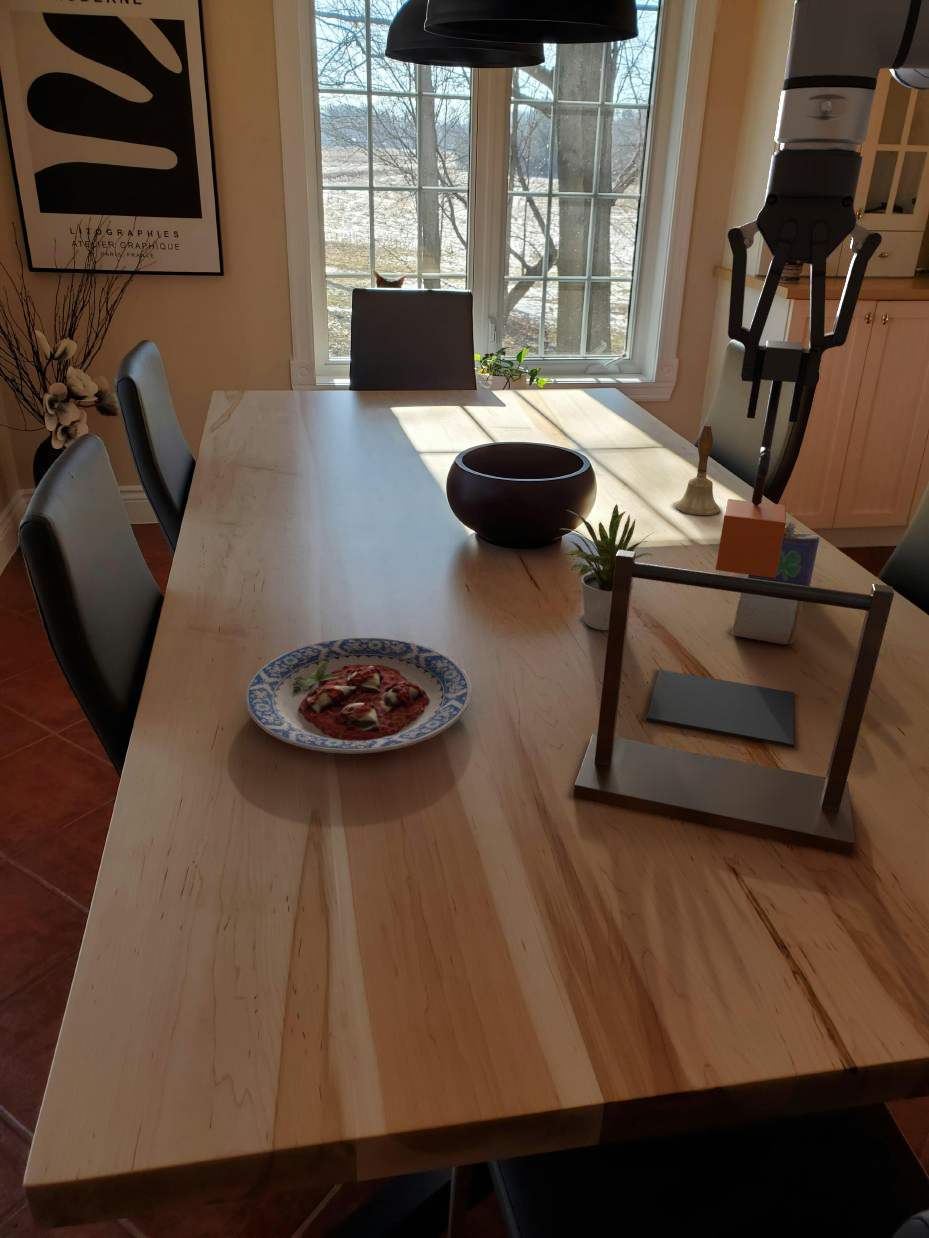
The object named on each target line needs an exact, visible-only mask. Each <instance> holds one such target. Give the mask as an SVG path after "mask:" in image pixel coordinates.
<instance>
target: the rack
mask: <svg viewBox="0 0 929 1238" xmlns="http://www.w3.org/2000/svg"><path fill="white" fill-rule="evenodd" d="M636 554H637V552H636V551H633V552H632V551H626V550H619V551H618V553H617V555H616V561H615V571H614V580H613V590H612V599H611V609H610V619H609V628H608V630H607V637H606V647H605V656H604V667H603V675H602V686H601V696H600V705H599V716H598V725H597V733H595V732H593V733H592V735H591V737H590V740H589V742H588V743H589V744H588V746H587V749H586V752H585V754H584V758H583V760H582V762H581V766H580V769H579V771H578V774H577V777H576V779H575V783H574V784H573V785H574V786H573V798H576V799H581V800H586V801H590V802H595V803H596V802H597V803H600V804H605V805H610V806H615V807H619V808H623V809H627V810H628V809H629V810H632V811H633V810H634V811H638V812H642V813H643V812H644V813H647V814H651V815H657V816H662V817H667V818H671V819H676V820H679V821H686V822H691V823H694V824H698V825H699V824H700V825H704V826H709V827H714V828H717V829H718V828H720V829H722V830H727V831H728V830H729V831H732V832H737V833H742V834H746V835H751V836H757V837H761V838H766V839H771V840H775V841H781V842H785V843H789V844H795V845H799V846H804V847H809V848H814V849H817V850H818V849H819V850H823V851H828V852H833V853H837V854H841V855H847V856H852V855H853V851H854V848H855V844H856V842H855V833H854V832H855V831H854V824H853V814H852V813H853V812H852V803H851V795H850V794H851V793H850V785H849V781H848V777H849V773H850V768H851V766H852V761H853V756H854V753H855V750H856V746H857V742H858V738H859V733H860V730H861V726H862V722H863V719H864V718H863V717H864V714H865V710H866V706H867V702H868V698H869V694H870V690H871V687H872V684H873V683H872V682H873V679H874V675H875V670H876V667H877V663H878V659H879V655H880V650H881V647H882V645H883V644H882V643H883V639H884V635H885V632H886V627H887V623H888V620H889V616H890V612H891V608H892V604H893V600H894V596H895V591H894V588H893V586H891V585H884V584H876V583H873V584H872V586H871V589H870V593H863V592H861V593H860V592H853V591H846V590H840V589H839V590H838V589H832V588H825V587H818V586H811V585H810V586H803V585H796V584H789V583H781V582H774V581H767V580H760V579H752V578H748V577H746V576H738V575H729V574H724V573H723V574H721V573H716V572H715V573H714V572H710V571H709V572H708V571H700V570H693V569H685V568H679V567H672V566H665V565H658V564H657V565H656V564H651V563H643V562H636V559H635V557H636V556H637V555H636ZM634 579H641V580H648V581H656V582H661V583H669V584H675V585H676V584H677V585H684V586H691V587H697V588H703V589H704V588H705V589H711V590H717V591H724V592H725V591H726V592H734V593H740V594H741V593H746V594H753V595H760V596H767V597H774V598H781V599H788V600H795V601H802V602H803V603H810V604H818V605H823V606H831V607H839V608H844V609H853V610H860V611H865V614H864V619H863V623H862V627H861V631H860V635H859V639H858V642H857V647H856V652H855V655H854V660H853V664H852V668H851V672H850V676H849V679H848V680H849V681H848V684H847V689H846V693H845V697H844V701H843V706H842V710H841V712H840V713H841V714H840V717H839V722H838V726H837V729H836V734H835V737H834V743H833V747H832V750H831V754H830V759H829V764H828V768H827V772H826V775H825V776H821V775H815V774H810V773H805V772H801V771H795V770H790V769H784V768H778V767H774V766H769V765H763V764H760V763H759V764H758V763H753V762H747V761H743V760H737V759H732V758H727V757H722V756H716V755H711V754H706V753H702V752H701V753H700V752H695V751H690V750H684V749H679V748H674V747H669V746H663V745H659V744H653V743H647V742H643V741H638V740H632V739H627V738H623V737H616V730H617V720H618V712H619V711H618V710H619V703H620V694H621V685H622V677H623V668H624V659H625V650H626V642H627V633H628V624H629V616H630V608H631V607H630V606H631V600H632V599H631V598H632V591H633V588H632V582H633V583H634Z"/></svg>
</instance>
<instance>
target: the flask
mask: <svg viewBox="0 0 929 1238" xmlns="http://www.w3.org/2000/svg"><path fill="white" fill-rule="evenodd" d="M795 529H796V523H794V522H790V521H789V522H788V523H786V526H785V532H784V537H783V542H782V548H781V553H780V558H779V563H778V569H777V574H776V578H771V577H763V576H756V575H749V574H747V575H748V576H747V578H752V579H760V580H767V581H774V582H781V583H789V584H796V585H803V586H811V582H812V578H813V572H814V568H815V562H816V557H817V554H818V553H817V552H818V547H819V543H820V537H819V536H818V535H816V534H815V533H799V532H798V533H797V532H796V531H795Z"/></svg>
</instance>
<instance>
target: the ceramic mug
mask: <svg viewBox="0 0 929 1238" xmlns="http://www.w3.org/2000/svg"><path fill="white" fill-rule="evenodd" d="M738 599H739V600H738V602H737V607H736V611H735V616H734V621H733V625H732V629H731V635H732V636H734V637H741V638H746V639H750V640H755V641H756V640H757V641H761V642H767V643H773V644H777V645H790V644H792V643H793V642H795V639H796V636H797V632H798V628H799V624H800V619H801V615H802V611H803V606H804V602H802V601H795V600H788V599H781V598H774V597H767V596H760V595H753V594H746V593H740V594H739V598H738Z"/></svg>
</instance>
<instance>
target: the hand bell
mask: <svg viewBox="0 0 929 1238" xmlns="http://www.w3.org/2000/svg"><path fill="white" fill-rule="evenodd" d="M713 443H714V437H713V431H712V425H710V424H704V425H703V427H702V430H701V432H700V434H699V437H698V441H697V452H698V464H697V473H696V476H695V477H693V478H690V479H689V480H688V483H687V486H686V489H685V492H684V494H683V495H682V497H681V498H680V499H678V501H677V502H675V504H674V507H675V509H676V510H677V511H679V512H682V513H685V514H688V515H693V516H711V515H715V514H718V513H719V512H720V510H721V509H720V506H719V505H718V503H716V501H715V498H714V497H715V496H714V491H713V489H714V488H713V487H714V483H713V481H712V480H711V479H709V478H707V472H708V470H707V469H708V460H709V457H710V454H711V452H712V449H713Z"/></svg>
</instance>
